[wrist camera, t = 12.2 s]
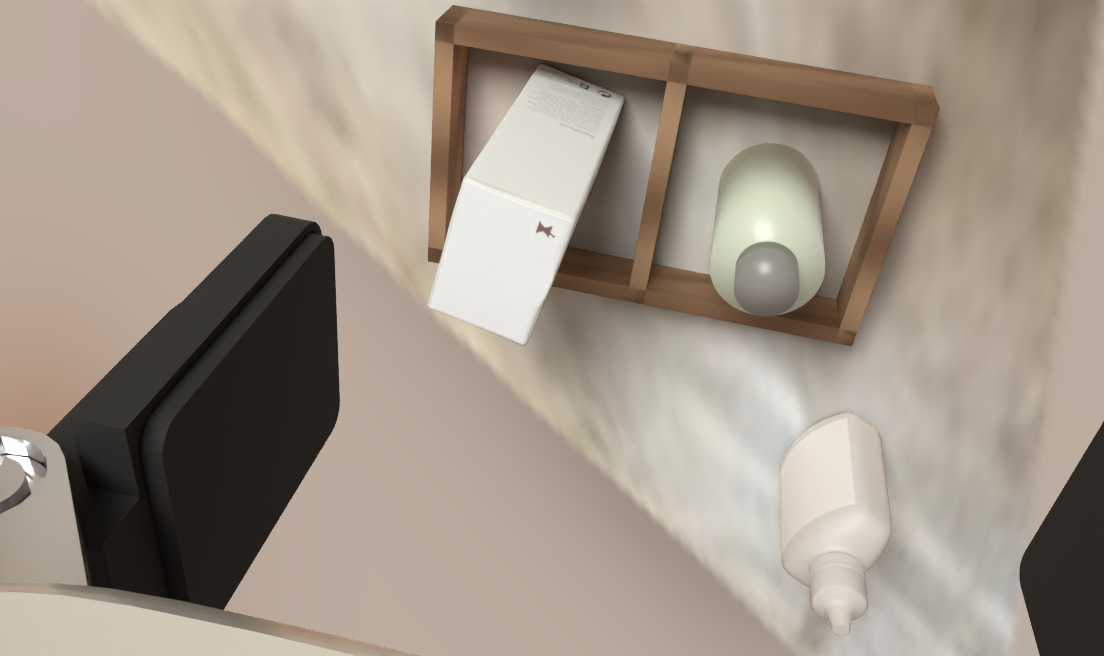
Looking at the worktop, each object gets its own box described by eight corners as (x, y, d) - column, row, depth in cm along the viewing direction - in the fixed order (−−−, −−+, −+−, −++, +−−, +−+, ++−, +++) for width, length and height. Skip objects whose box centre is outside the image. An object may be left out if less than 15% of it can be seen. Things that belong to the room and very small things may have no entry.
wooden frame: (452, 5, 40) (435, 21, 38) (930, 86, 38) (939, 108, 36) (443, 236, 47) (428, 261, 45) (848, 316, 45) (851, 346, 43)
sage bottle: (730, 135, 41) (720, 227, 34) (830, 153, 40) (841, 250, 33) (710, 222, 43) (696, 325, 36) (803, 240, 43) (809, 348, 36)
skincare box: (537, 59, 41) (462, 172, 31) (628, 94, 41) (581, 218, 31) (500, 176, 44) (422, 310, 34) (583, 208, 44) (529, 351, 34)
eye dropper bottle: (763, 428, 49) (759, 607, 40) (868, 403, 47) (892, 585, 37) (790, 486, 51) (793, 670, 42) (893, 464, 49) (922, 654, 39)
